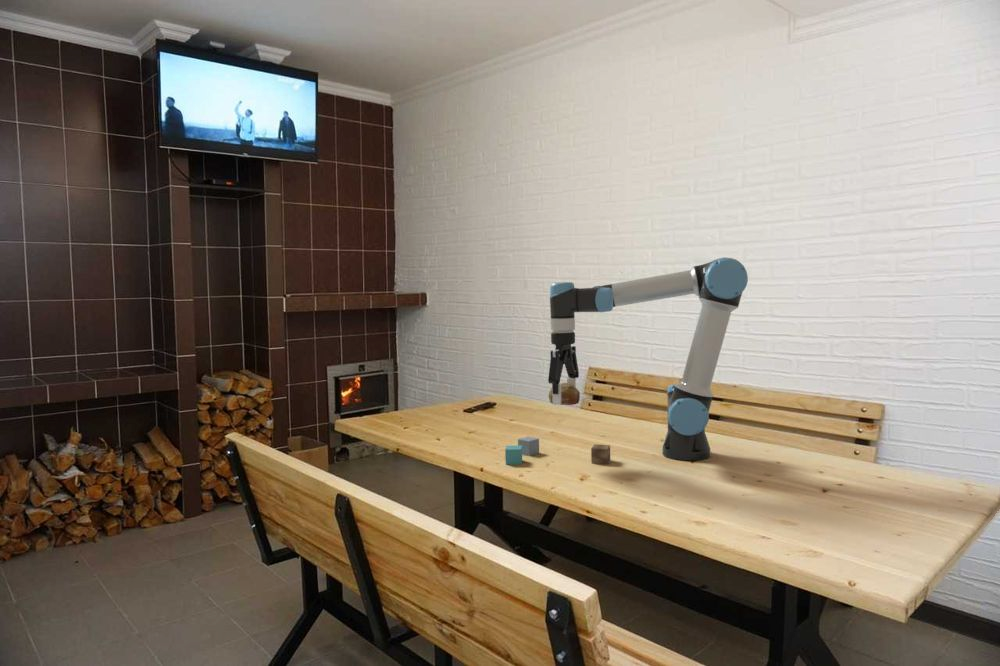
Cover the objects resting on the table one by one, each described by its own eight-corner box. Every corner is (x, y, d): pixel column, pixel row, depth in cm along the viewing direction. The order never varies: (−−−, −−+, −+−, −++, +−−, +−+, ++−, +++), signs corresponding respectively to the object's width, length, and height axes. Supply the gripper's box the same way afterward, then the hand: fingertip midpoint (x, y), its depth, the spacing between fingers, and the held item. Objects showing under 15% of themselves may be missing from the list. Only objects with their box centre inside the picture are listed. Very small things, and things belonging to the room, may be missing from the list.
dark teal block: (522, 460, 229) (521, 445, 228) (521, 464, 224) (520, 449, 223) (507, 460, 229) (506, 445, 229) (505, 464, 224) (505, 449, 224)
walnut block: (610, 460, 226) (610, 445, 225) (607, 464, 221) (606, 449, 221) (595, 459, 228) (594, 444, 227) (591, 463, 223) (591, 448, 222)
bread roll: (546, 414, 223) (541, 393, 219) (557, 395, 231) (552, 375, 227) (576, 416, 218) (571, 395, 215) (585, 397, 226) (581, 376, 223)
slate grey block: (539, 453, 237) (538, 438, 237) (529, 456, 234) (528, 441, 233) (528, 450, 241) (528, 436, 240) (518, 453, 237) (517, 439, 237)
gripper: (567, 328, 233) (568, 394, 235) (535, 334, 213) (537, 406, 215) (588, 328, 229) (589, 395, 231) (558, 335, 210) (559, 408, 212)
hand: (564, 401), depth 223 cm, fingers closed on bread roll, 10 cm apart
